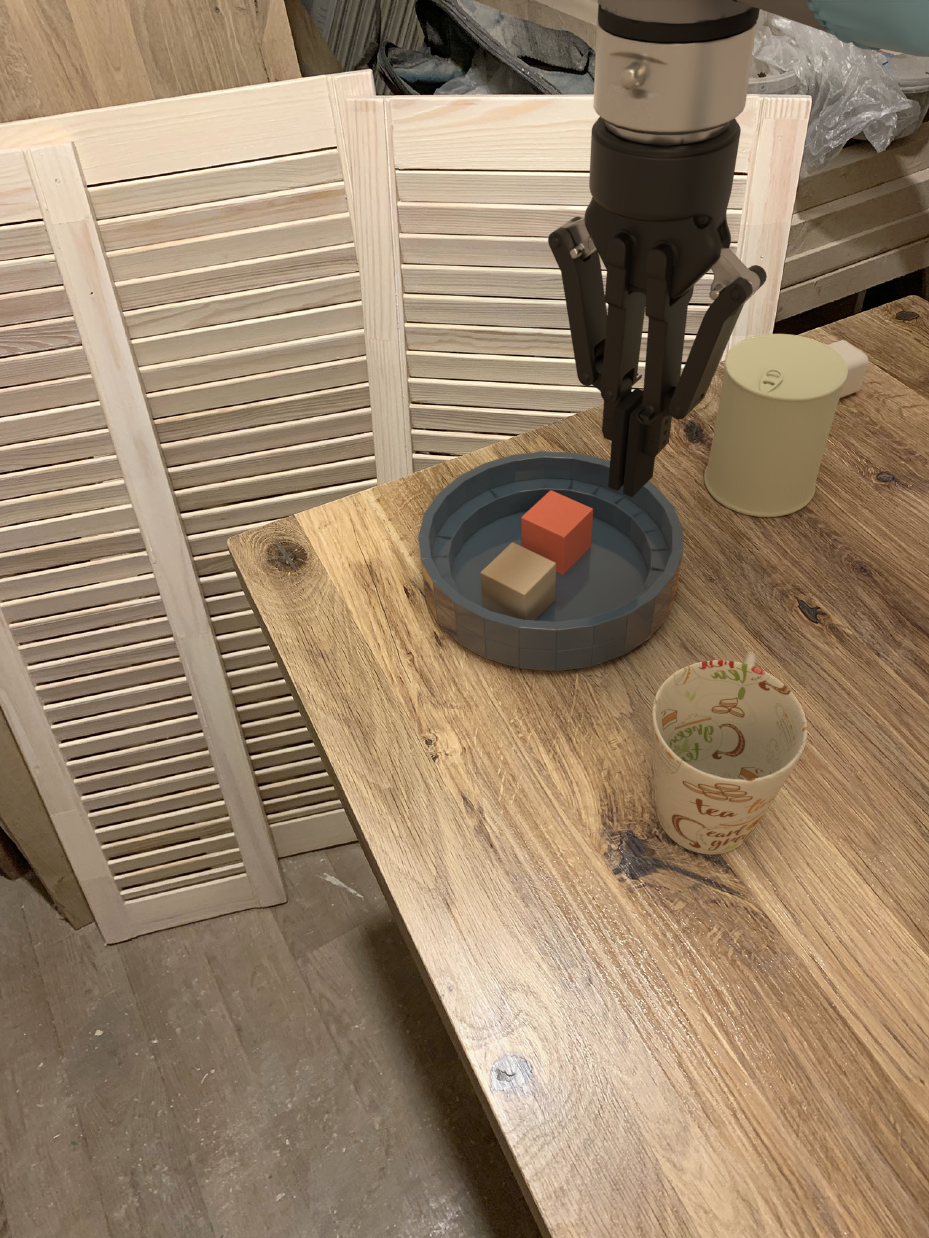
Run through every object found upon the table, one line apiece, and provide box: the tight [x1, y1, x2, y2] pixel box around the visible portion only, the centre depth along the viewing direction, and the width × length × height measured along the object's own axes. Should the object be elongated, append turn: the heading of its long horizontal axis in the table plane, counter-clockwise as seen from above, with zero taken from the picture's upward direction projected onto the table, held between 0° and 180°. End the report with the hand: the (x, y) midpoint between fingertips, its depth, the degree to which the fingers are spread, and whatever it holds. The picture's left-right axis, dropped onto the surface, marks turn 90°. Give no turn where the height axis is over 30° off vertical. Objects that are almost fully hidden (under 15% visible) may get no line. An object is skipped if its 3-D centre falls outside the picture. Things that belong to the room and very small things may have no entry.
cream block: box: [480, 542, 556, 620], centre depth 69 cm, size 4×4×4 cm
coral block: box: [521, 490, 593, 575], centre depth 73 cm, size 4×4×4 cm
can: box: [703, 333, 848, 518], centre depth 75 cm, size 9×9×12 cm
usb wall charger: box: [826, 339, 869, 399], centre depth 86 cm, size 4×7×4 cm, turn 116°
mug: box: [650, 651, 808, 855], centre depth 56 cm, size 8×13×10 cm, turn 158°
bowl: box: [417, 450, 684, 672], centre depth 71 cm, size 20×20×5 cm
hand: (630, 481), depth 64 cm, fingers closed
